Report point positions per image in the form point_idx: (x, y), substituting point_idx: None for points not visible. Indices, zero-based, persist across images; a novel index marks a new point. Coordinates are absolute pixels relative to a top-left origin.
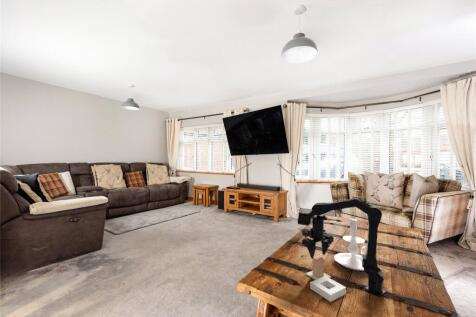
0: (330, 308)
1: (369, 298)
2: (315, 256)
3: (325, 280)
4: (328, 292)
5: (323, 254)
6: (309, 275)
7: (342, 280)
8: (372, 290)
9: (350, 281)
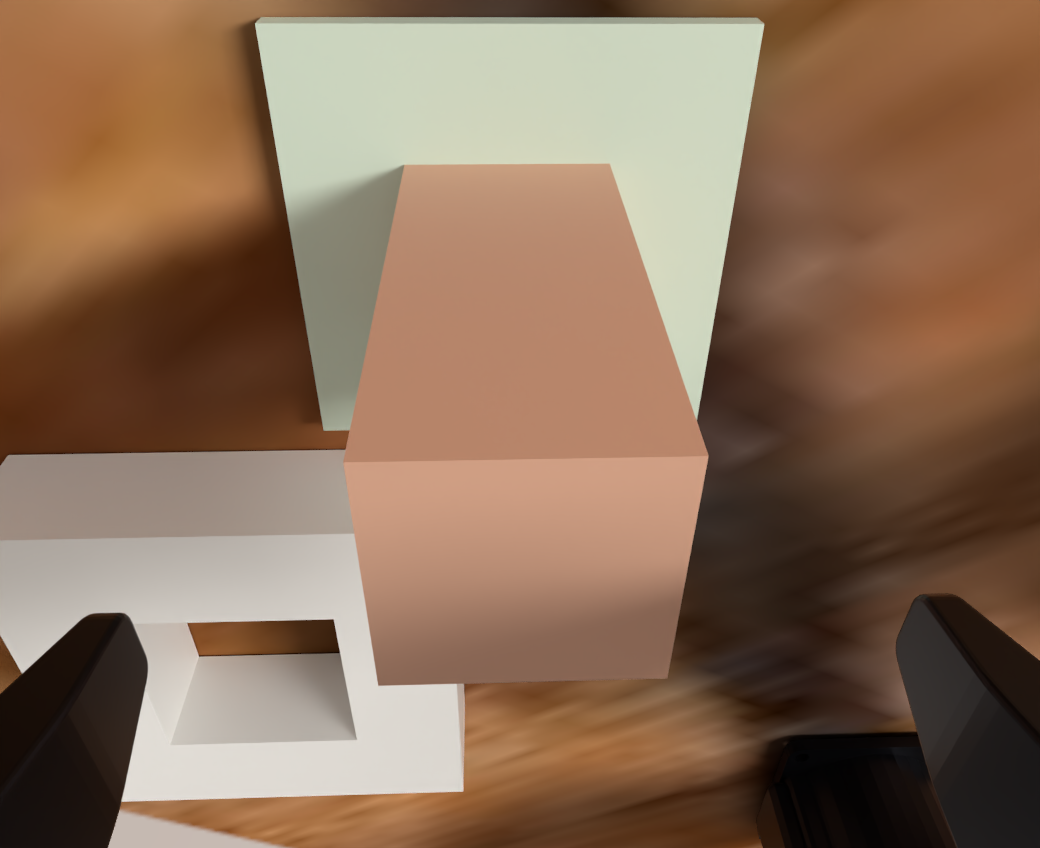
0: None
1: (629, 809)
2: (551, 462)
3: (310, 613)
4: None
5: (908, 627)
6: (281, 164)
7: (770, 538)
8: (764, 830)
9: (842, 597)
